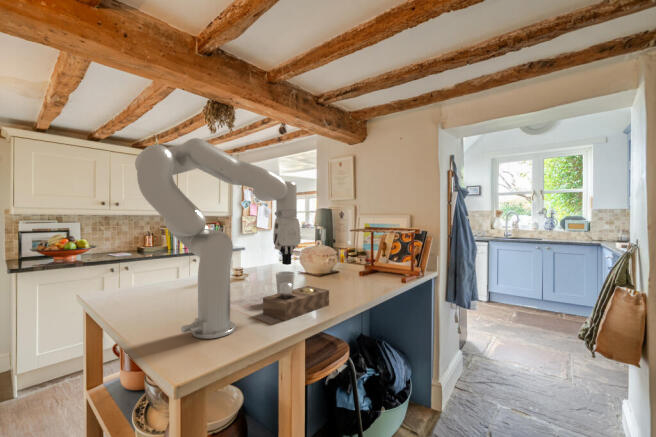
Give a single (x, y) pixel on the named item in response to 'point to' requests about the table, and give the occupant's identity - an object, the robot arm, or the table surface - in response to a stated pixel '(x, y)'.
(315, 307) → the walnut block
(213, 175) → the robot arm
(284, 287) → the steel peg
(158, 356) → the table surface
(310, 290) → the brass peg
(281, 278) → the cup
